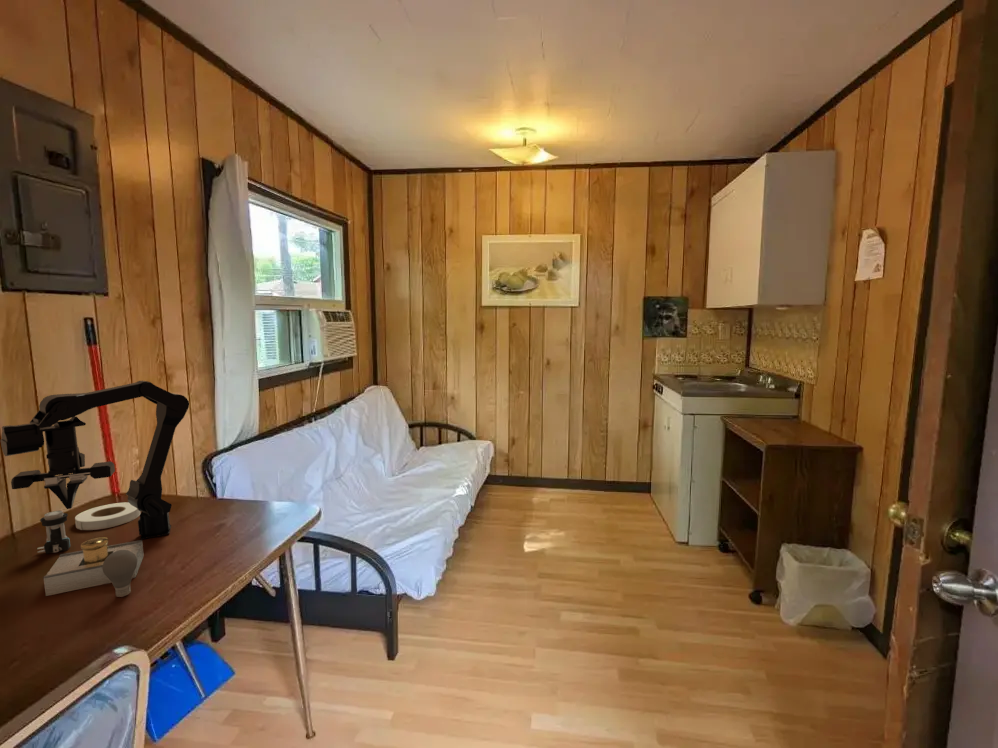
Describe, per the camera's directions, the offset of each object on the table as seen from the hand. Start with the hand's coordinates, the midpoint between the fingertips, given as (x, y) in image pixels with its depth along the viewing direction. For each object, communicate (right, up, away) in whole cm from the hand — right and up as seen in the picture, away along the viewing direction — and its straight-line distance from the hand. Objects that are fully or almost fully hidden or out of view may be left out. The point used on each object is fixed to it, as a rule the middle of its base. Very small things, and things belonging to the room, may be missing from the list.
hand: (69, 508), depth 126 cm
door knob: (+12, -14, -7) cm, 20 cm away
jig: (+12, -14, -7) cm, 20 cm away
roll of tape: (-10, -11, +26) cm, 30 cm away
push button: (-9, -13, +6) cm, 17 cm away
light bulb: (+25, -15, -16) cm, 33 cm away
